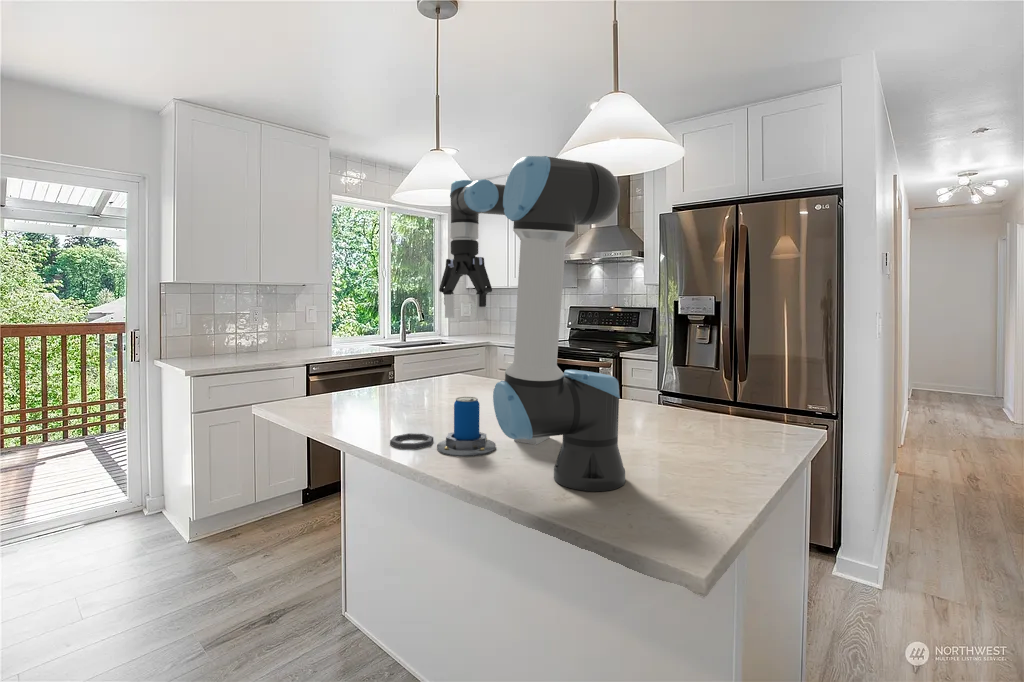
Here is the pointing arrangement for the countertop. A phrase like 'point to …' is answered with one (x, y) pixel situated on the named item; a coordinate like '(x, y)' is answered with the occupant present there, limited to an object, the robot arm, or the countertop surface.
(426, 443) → the stand ring
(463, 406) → the beverage can
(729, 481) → the countertop surface
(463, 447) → the hub socket
